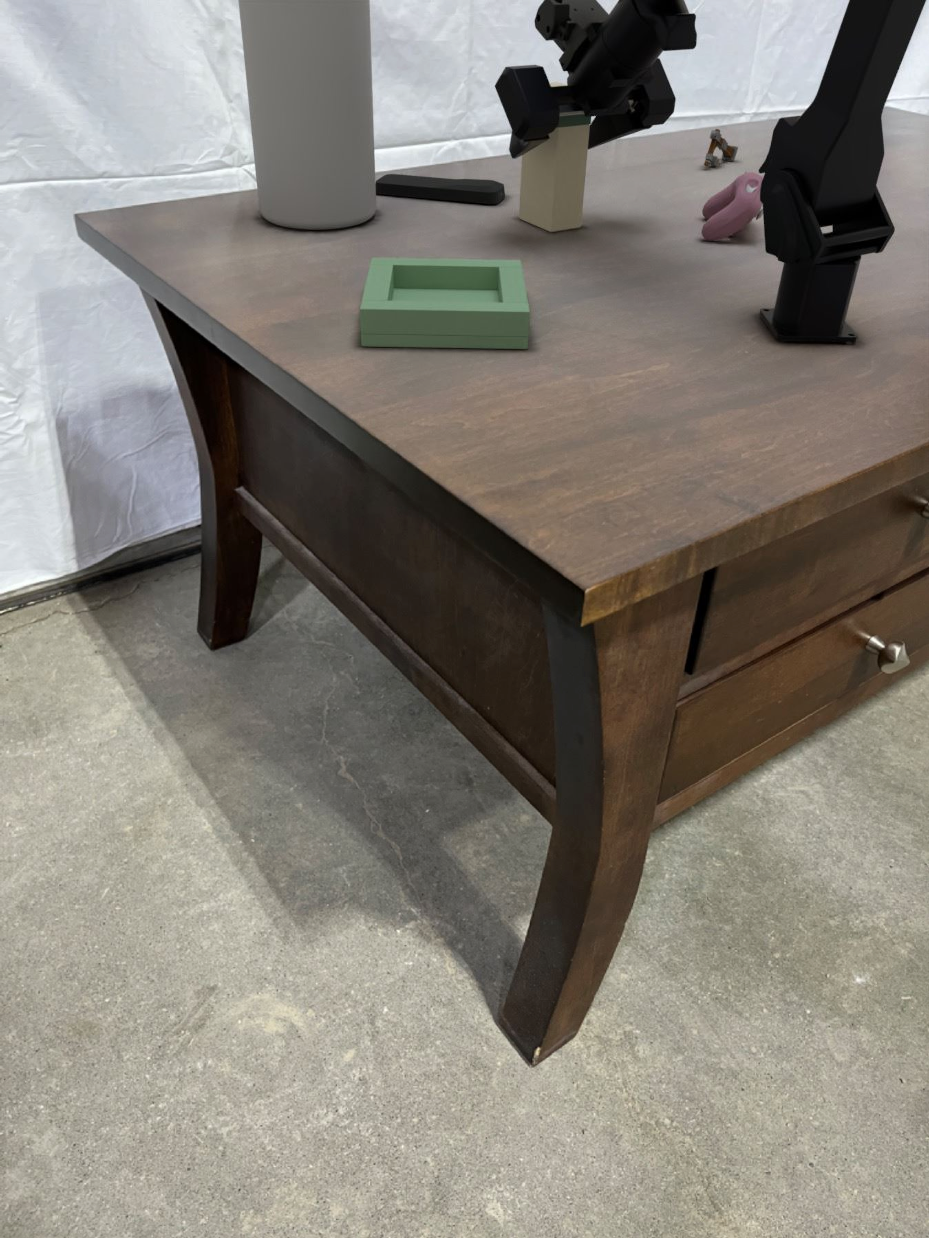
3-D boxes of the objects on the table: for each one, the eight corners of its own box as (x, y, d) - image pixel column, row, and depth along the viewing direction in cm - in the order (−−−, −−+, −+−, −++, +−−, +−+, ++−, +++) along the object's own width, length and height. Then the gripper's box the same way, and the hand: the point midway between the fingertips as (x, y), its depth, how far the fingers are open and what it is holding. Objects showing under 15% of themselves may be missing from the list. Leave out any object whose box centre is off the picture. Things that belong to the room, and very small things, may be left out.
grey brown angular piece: (697, 162, 128) (708, 125, 126) (715, 179, 134) (726, 143, 133) (710, 164, 127) (721, 126, 126) (728, 181, 134) (738, 145, 132)
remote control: (372, 199, 115) (496, 205, 112) (371, 182, 114) (496, 188, 111) (386, 189, 119) (507, 195, 115) (385, 173, 118) (507, 178, 114)
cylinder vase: (358, 197, 113) (346, -67, 98) (391, 226, 104) (384, -61, 89) (249, 205, 110) (220, -68, 95) (274, 236, 100) (246, -62, 85)
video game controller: (734, 260, 102) (777, 198, 98) (697, 236, 102) (739, 173, 97) (732, 234, 110) (773, 176, 106) (698, 212, 109) (737, 152, 105)
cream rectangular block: (581, 227, 105) (593, 91, 98) (550, 232, 104) (560, 94, 96) (548, 214, 109) (557, 82, 102) (517, 218, 108) (524, 84, 100)
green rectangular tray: (527, 349, 77) (530, 311, 75) (361, 346, 77) (359, 308, 75) (519, 294, 88) (521, 260, 86) (372, 291, 87) (371, 257, 86)
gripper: (674, -39, 93) (591, 75, 108) (511, -37, 85) (444, 86, 99) (717, 67, 93) (628, 168, 107) (558, 79, 85) (483, 187, 99)
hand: (548, 150), depth 103 cm, fingers open, 9 cm apart
